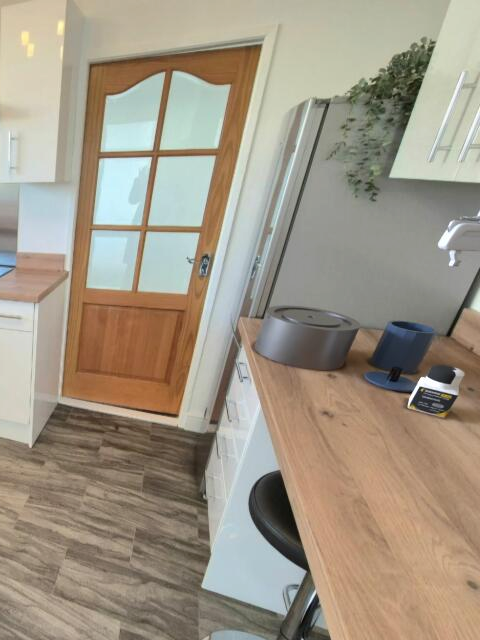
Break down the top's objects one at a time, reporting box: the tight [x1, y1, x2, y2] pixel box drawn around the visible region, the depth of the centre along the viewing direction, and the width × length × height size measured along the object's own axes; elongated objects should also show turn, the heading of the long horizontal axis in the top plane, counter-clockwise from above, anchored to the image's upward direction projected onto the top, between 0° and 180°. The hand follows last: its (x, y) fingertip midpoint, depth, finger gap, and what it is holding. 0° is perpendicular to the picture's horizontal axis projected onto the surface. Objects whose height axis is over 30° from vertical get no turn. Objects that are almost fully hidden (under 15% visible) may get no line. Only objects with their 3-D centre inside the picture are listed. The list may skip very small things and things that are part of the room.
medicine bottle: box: [407, 364, 465, 419], centre depth 111 cm, size 7×7×12 cm
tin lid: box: [363, 367, 418, 393], centre depth 126 cm, size 12×12×5 cm
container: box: [253, 305, 361, 371], centre depth 143 cm, size 25×25×13 cm
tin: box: [369, 320, 439, 375], centre depth 135 cm, size 11×11×14 cm
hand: (472, 267), depth 126 cm, fingers open, 8 cm apart
